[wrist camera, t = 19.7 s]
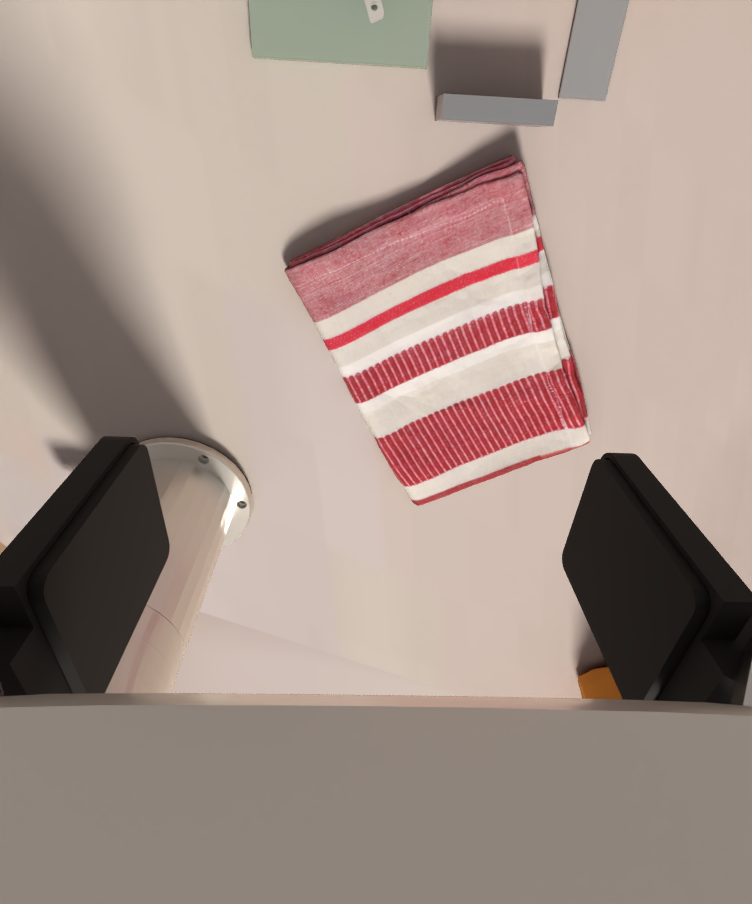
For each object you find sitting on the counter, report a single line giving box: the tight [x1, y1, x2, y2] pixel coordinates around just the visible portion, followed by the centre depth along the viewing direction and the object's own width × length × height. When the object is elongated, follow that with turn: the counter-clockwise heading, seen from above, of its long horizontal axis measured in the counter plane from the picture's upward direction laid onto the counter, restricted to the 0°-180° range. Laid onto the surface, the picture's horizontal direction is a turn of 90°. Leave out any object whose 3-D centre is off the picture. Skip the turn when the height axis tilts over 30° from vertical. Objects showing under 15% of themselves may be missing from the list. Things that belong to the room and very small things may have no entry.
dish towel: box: [285, 155, 592, 506], centre depth 39 cm, size 17×23×3 cm
